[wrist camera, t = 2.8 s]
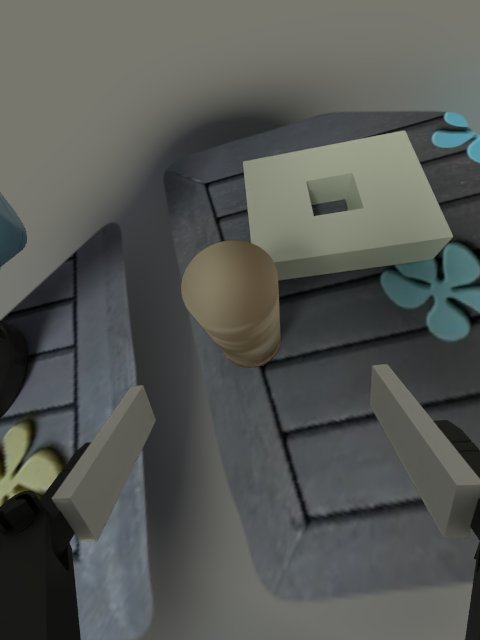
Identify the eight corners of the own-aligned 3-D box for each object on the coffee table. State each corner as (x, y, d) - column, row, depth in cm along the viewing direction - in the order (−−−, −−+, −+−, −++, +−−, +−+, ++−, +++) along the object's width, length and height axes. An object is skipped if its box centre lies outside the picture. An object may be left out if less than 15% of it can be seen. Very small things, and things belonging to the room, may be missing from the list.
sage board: (256, 283, 32) (253, 265, 28) (246, 186, 38) (242, 161, 34) (432, 259, 30) (453, 236, 26) (392, 160, 36) (404, 130, 32)
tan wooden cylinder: (229, 377, 29) (178, 335, 15) (226, 325, 31) (180, 246, 17) (285, 371, 28) (286, 322, 14) (278, 319, 30) (273, 232, 16)
